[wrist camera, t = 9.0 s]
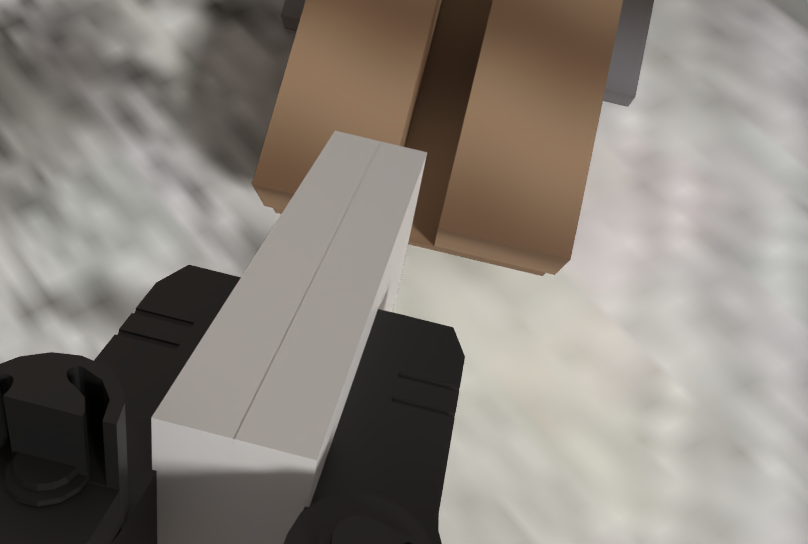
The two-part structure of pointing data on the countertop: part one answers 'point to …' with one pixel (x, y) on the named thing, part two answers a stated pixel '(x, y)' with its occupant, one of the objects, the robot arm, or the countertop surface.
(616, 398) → the countertop surface
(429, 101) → the balance beam
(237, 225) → the countertop surface
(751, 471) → the countertop surface
